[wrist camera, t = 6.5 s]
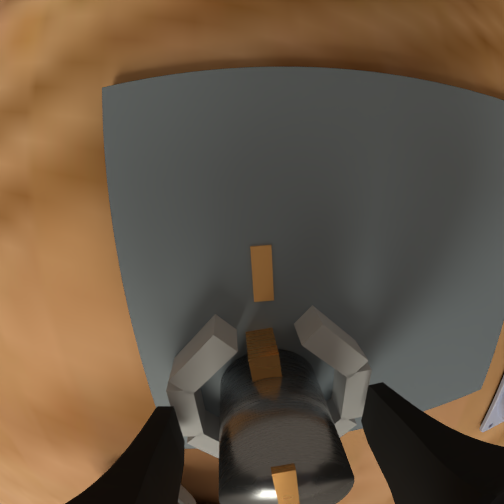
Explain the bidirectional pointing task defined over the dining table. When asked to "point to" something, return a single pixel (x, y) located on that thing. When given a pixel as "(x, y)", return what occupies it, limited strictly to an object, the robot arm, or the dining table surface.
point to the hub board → (308, 231)
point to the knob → (277, 431)
